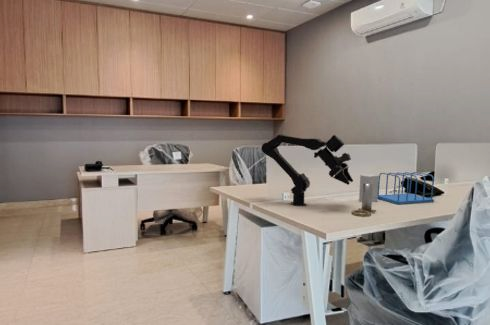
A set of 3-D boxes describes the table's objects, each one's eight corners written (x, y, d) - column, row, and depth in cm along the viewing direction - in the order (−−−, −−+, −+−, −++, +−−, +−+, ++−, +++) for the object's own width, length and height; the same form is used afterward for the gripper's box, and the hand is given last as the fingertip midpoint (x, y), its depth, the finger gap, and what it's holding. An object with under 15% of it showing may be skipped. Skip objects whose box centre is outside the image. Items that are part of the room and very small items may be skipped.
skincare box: (369, 200, 194) (370, 173, 193) (377, 202, 189) (379, 175, 188) (358, 201, 190) (359, 174, 189) (367, 203, 185) (368, 175, 184)
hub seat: (344, 213, 163) (344, 209, 163) (366, 212, 165) (366, 209, 165) (355, 219, 153) (355, 215, 152) (378, 218, 154) (378, 214, 154)
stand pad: (356, 212, 164) (356, 211, 164) (358, 209, 171) (359, 208, 171) (374, 214, 161) (374, 213, 161) (376, 211, 168) (376, 210, 168)
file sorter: (397, 205, 184) (399, 176, 183) (375, 198, 200) (376, 172, 199) (434, 202, 192) (436, 174, 191) (409, 196, 209) (411, 171, 207)
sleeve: (359, 209, 168) (361, 183, 167) (368, 209, 169) (369, 182, 167) (364, 212, 164) (365, 184, 162) (373, 211, 164) (374, 184, 163)
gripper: (336, 148, 161) (360, 174, 157) (344, 146, 177) (366, 169, 174) (319, 164, 165) (342, 189, 161) (328, 161, 182) (349, 184, 178)
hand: (350, 182), depth 168 cm, fingers open, 9 cm apart
